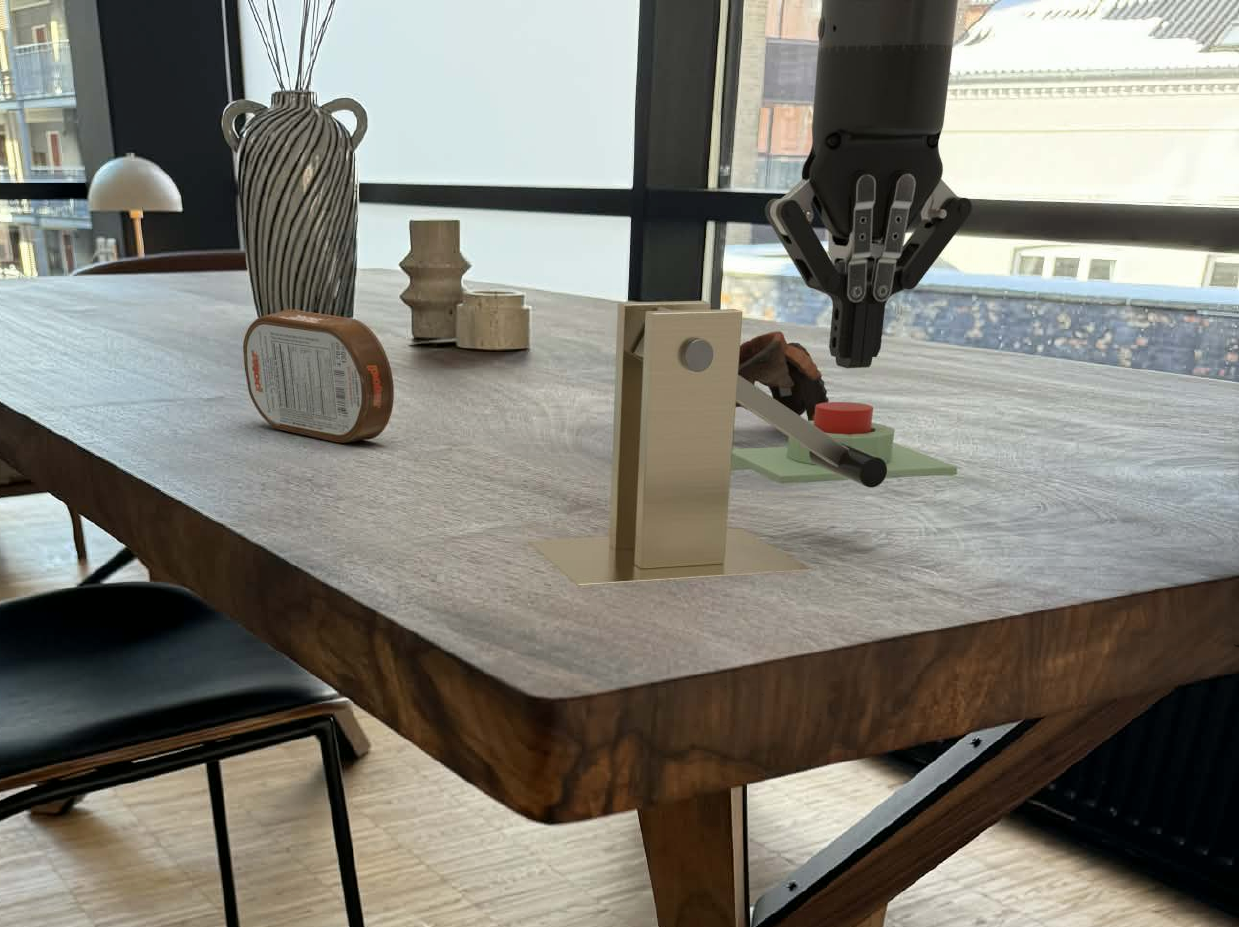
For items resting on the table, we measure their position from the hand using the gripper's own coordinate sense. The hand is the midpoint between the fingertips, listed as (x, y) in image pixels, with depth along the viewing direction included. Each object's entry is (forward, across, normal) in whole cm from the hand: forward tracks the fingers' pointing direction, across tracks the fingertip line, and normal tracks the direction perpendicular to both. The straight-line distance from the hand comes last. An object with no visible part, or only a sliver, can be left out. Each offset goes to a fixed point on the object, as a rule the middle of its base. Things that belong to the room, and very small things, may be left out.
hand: (853, 365), depth 95 cm
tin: (+7, -30, +26) cm, 41 cm away
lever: (0, -15, -20) cm, 25 cm away
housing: (+7, 0, 0) cm, 7 cm away
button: (+4, 0, 0) cm, 4 cm away
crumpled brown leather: (+7, +2, +18) cm, 20 cm away
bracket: (+7, -19, -20) cm, 29 cm away
